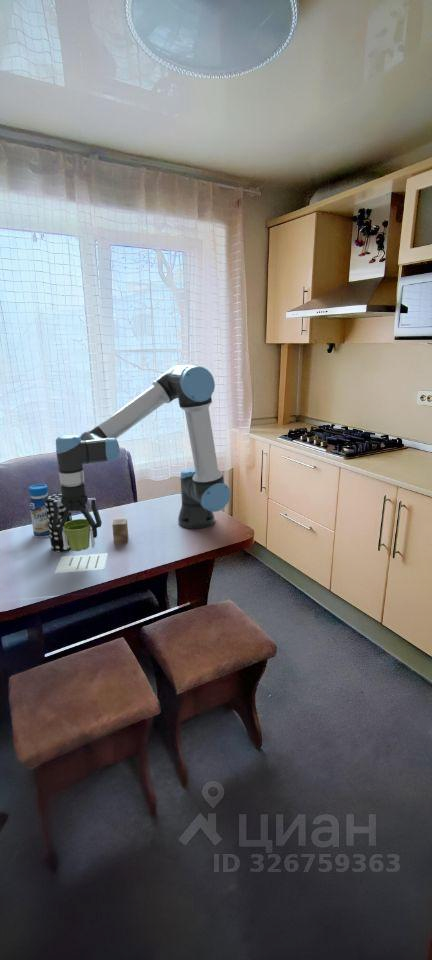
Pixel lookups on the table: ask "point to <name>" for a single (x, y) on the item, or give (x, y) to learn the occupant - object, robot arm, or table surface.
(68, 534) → the plant pot
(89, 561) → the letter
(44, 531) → the beverage bottle
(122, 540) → the block
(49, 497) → the white-spotted black cylinder
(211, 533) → the table surface
